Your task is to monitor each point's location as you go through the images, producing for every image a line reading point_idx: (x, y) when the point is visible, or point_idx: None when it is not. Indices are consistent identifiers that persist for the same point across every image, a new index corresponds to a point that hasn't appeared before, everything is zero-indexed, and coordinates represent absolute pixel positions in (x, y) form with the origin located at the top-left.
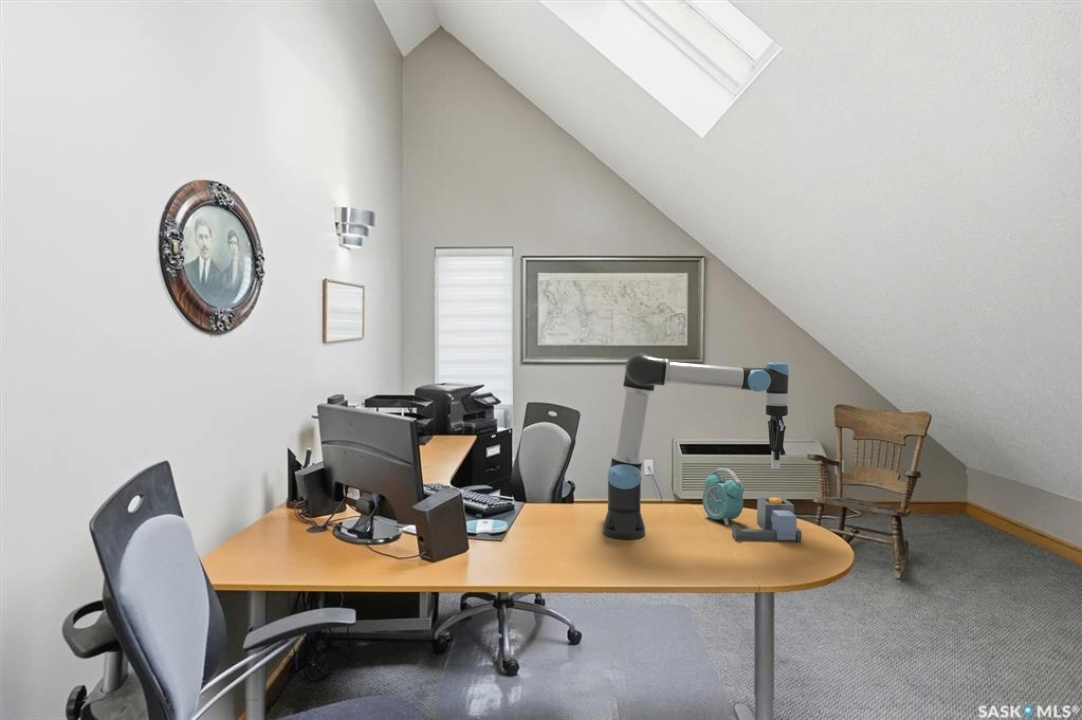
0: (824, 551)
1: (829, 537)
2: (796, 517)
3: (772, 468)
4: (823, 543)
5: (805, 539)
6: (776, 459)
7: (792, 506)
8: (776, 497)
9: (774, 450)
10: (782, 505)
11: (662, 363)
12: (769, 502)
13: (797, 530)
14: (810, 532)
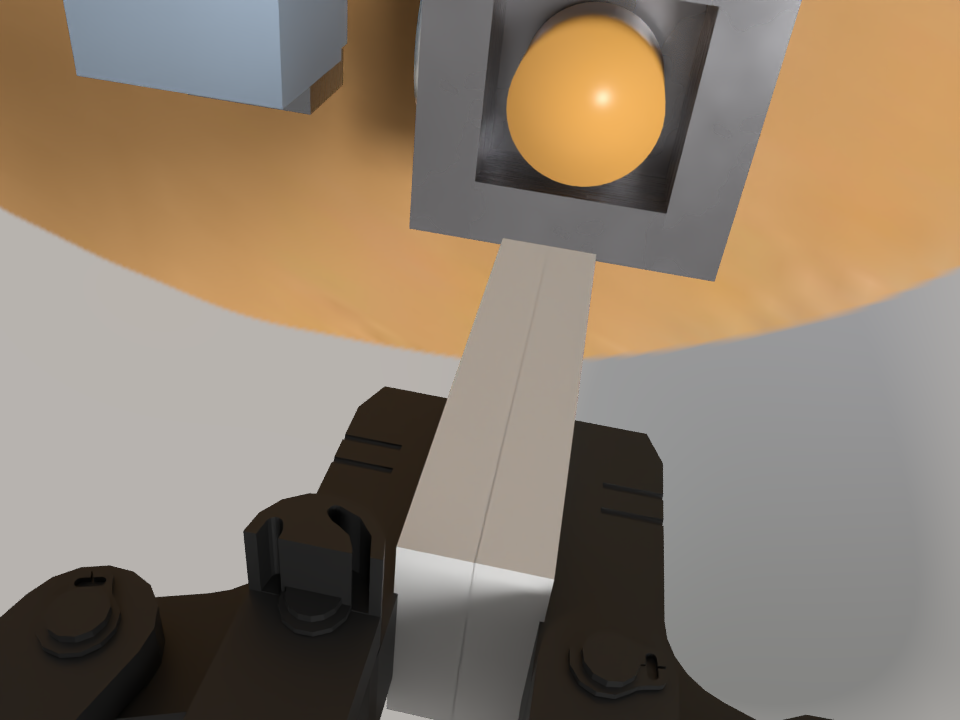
0: (75, 138)
1: (372, 325)
2: (81, 70)
3: (503, 242)
4: (241, 220)
5: (314, 141)
6: (366, 420)
7: (412, 208)
8: (644, 157)
9: (258, 577)
10: (418, 106)
11: None
12: (592, 18)
13: None
14: (479, 263)
